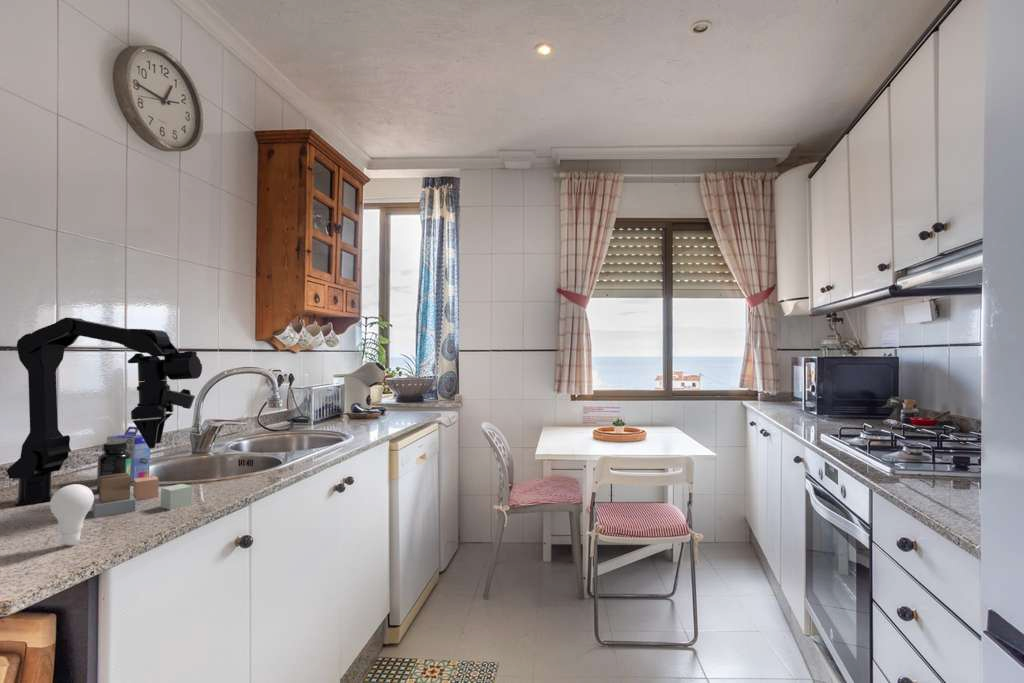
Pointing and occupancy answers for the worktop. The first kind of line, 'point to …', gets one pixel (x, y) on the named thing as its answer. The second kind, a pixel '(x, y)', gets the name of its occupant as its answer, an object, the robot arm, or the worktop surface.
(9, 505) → the worktop surface
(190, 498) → the sage block
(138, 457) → the ink cartridge box
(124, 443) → the supplement bottle
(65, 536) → the lightbulb
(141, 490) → the terracotta block
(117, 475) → the walnut cube
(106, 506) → the slate base block
